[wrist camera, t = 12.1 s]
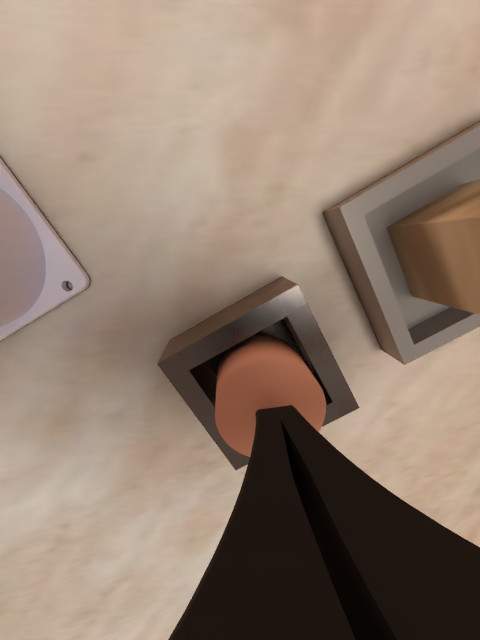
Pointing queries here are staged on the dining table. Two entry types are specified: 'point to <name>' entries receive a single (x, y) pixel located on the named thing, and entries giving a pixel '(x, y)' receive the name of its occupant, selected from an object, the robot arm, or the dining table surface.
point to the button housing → (237, 325)
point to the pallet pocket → (379, 254)
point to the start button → (263, 388)
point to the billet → (443, 249)
